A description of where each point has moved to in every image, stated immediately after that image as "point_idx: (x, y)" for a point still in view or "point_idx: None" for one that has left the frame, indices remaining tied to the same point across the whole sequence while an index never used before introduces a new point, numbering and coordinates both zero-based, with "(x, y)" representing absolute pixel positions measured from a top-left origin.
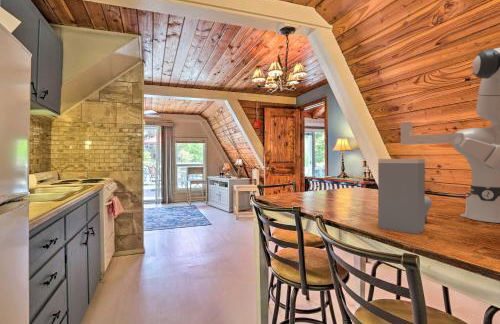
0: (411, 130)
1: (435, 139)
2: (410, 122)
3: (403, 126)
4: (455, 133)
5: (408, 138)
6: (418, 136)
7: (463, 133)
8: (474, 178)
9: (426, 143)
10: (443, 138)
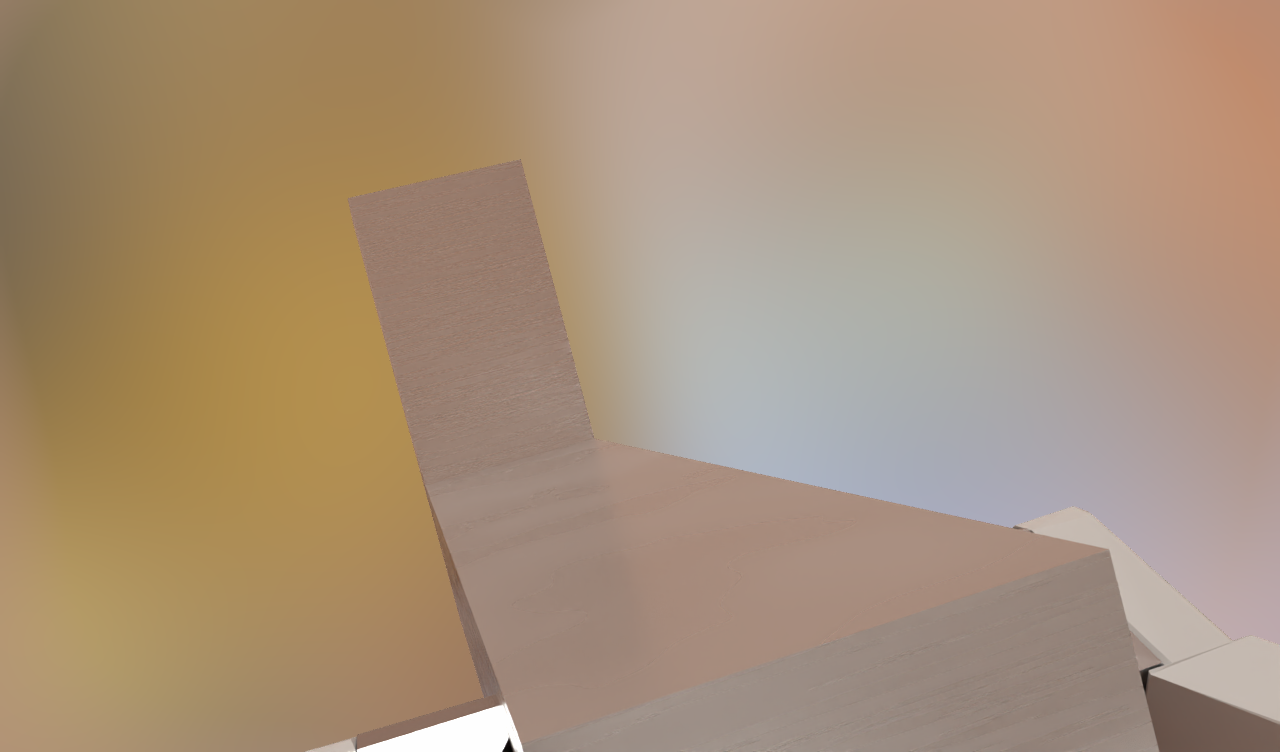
0: (510, 336)
1: None
2: (396, 194)
3: (372, 292)
4: (500, 661)
5: (438, 534)
6: (437, 525)
7: (1068, 565)
8: None
9: None
10: None
